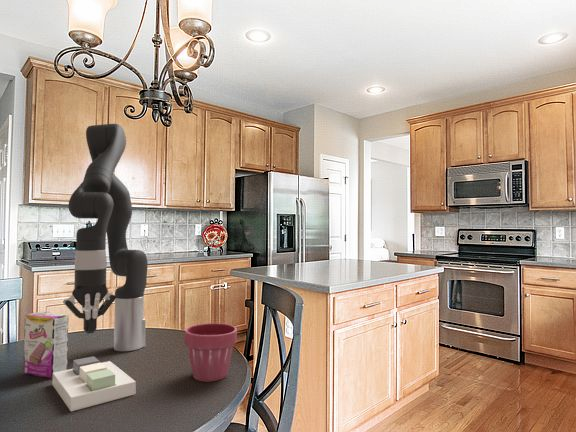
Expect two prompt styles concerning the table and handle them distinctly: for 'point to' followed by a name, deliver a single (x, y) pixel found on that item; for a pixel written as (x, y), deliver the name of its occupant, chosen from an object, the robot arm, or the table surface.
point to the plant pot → (210, 349)
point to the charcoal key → (83, 363)
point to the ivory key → (90, 370)
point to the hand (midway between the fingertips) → (89, 332)
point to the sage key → (100, 380)
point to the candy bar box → (45, 344)
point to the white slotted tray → (82, 397)
